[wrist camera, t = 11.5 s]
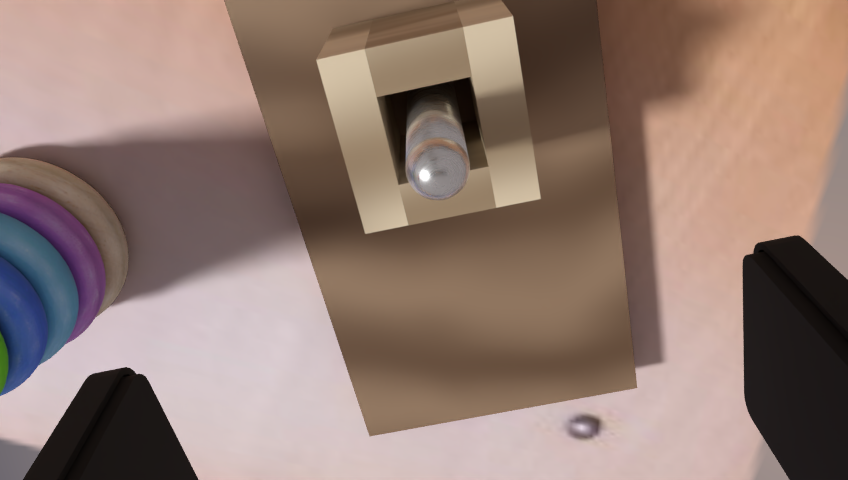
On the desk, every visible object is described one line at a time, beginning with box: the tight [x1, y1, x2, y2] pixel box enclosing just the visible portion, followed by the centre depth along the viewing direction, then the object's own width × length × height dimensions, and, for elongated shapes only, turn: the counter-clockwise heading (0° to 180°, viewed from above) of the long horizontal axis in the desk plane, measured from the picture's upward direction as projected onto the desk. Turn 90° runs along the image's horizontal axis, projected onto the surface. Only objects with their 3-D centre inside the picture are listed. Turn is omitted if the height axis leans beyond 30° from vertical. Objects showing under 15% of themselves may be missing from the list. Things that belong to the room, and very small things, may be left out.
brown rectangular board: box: [224, 0, 637, 436], centre depth 30 cm, size 22×13×2 cm, turn 12°
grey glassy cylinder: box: [406, 81, 470, 200], centre depth 23 cm, size 2×2×9 cm
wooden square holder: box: [316, 0, 541, 234], centre depth 25 cm, size 6×6×5 cm
